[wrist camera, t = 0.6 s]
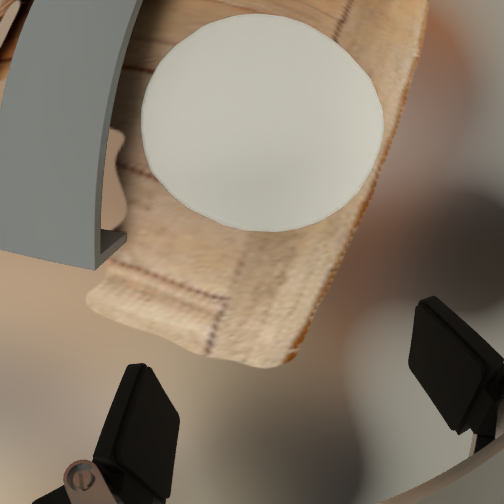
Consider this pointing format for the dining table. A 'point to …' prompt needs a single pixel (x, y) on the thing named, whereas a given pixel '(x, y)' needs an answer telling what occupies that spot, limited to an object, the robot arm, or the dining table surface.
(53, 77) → the shelf
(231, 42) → the plate
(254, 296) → the dining table surface
